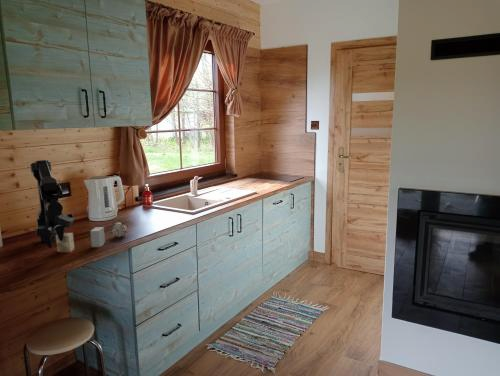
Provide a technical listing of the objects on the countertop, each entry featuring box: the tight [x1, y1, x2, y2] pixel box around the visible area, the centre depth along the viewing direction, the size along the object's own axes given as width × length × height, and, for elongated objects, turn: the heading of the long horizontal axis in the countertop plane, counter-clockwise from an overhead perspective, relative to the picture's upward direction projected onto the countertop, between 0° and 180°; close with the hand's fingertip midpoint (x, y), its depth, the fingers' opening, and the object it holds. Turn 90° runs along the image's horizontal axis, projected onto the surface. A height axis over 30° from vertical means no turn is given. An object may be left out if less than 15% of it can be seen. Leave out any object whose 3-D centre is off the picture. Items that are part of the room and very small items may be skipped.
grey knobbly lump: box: [109, 220, 129, 240], centre depth 208 cm, size 9×8×10 cm
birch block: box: [55, 232, 75, 253], centre depth 189 cm, size 6×4×8 cm, turn 87°
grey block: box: [90, 226, 106, 248], centre depth 197 cm, size 6×4×8 cm, turn 177°
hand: (56, 244), depth 181 cm, fingers open, 9 cm apart
